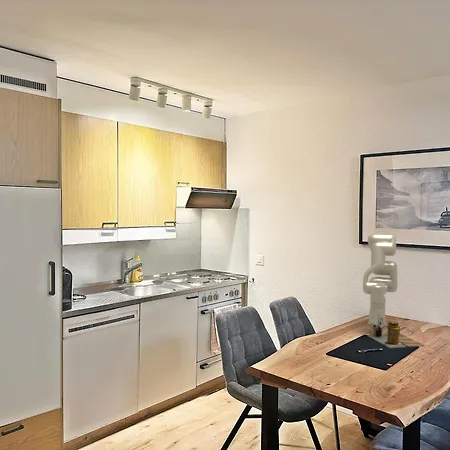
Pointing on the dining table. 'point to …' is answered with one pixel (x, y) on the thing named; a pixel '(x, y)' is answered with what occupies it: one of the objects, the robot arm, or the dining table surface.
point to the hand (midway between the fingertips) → (376, 335)
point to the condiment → (392, 334)
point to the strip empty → (408, 340)
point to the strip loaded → (382, 338)
